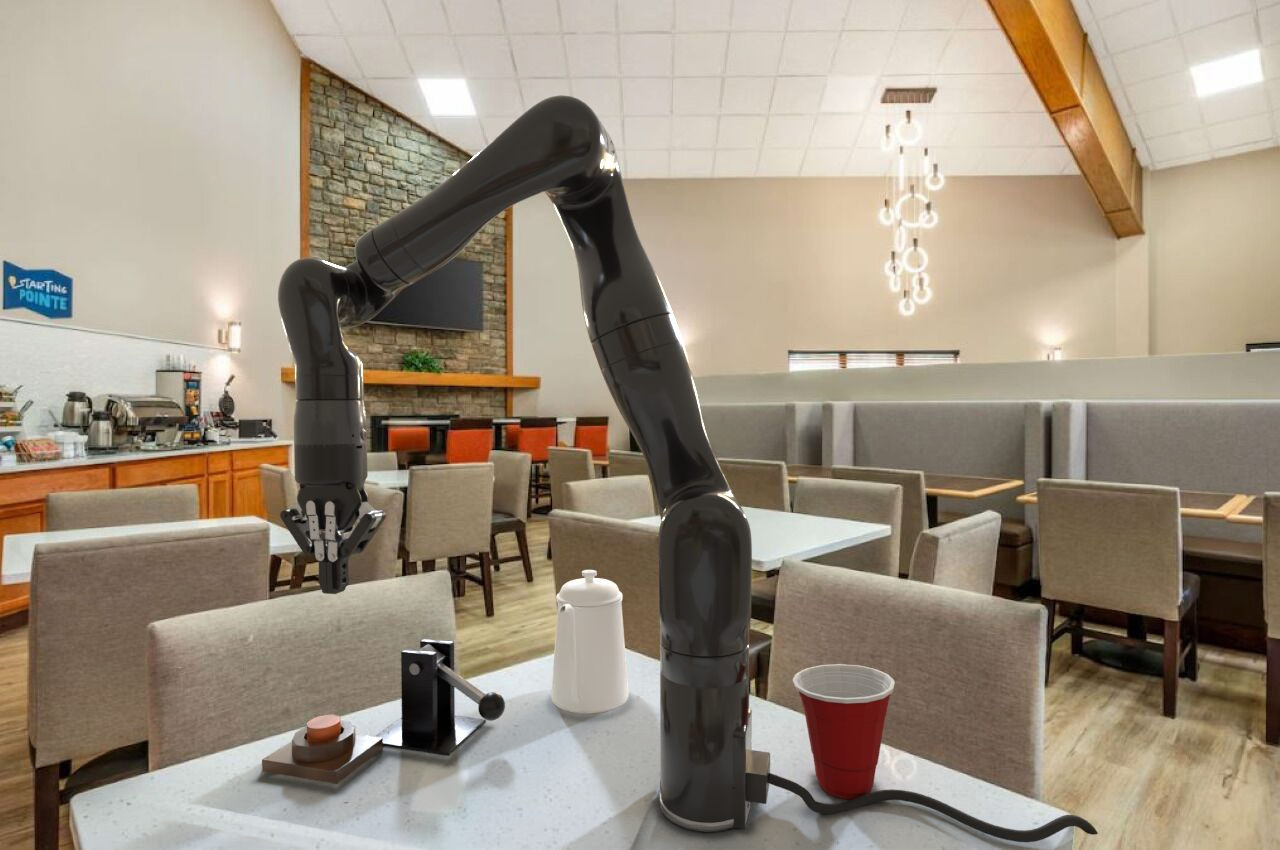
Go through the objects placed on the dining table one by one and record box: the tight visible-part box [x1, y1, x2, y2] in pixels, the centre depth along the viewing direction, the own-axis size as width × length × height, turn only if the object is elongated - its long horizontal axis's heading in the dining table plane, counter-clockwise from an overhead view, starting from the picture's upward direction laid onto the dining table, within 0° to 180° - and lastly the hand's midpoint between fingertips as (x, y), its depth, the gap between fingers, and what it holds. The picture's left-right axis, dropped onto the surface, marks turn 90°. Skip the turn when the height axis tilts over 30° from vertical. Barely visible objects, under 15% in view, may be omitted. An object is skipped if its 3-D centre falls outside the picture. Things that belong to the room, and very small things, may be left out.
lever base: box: [374, 638, 487, 757], centre depth 85 cm, size 11×9×12 cm
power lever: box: [417, 644, 506, 721], centre depth 83 cm, size 13×3×3 cm, turn 75°
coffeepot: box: [551, 569, 629, 714], centre depth 95 cm, size 11×25×19 cm, turn 168°
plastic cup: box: [792, 663, 896, 800], centre depth 74 cm, size 11×11×12 cm
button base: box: [261, 720, 384, 785], centre depth 78 cm, size 10×8×4 cm
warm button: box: [306, 714, 342, 742], centre depth 78 cm, size 4×4×2 cm
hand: (334, 592), depth 77 cm, fingers closed
